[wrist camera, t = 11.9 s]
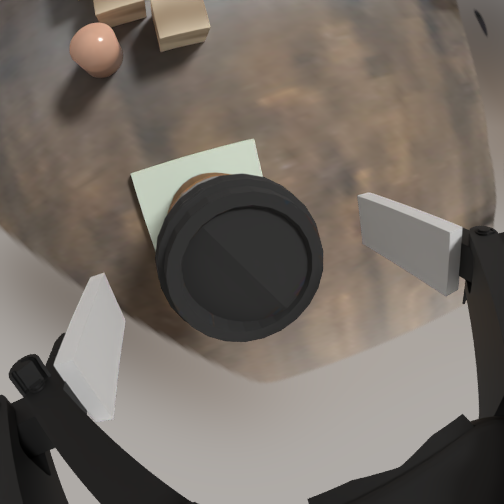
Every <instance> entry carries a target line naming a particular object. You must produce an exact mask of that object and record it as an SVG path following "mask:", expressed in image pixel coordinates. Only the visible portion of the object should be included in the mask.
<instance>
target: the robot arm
mask: <svg viewBox="0 0 504 504" xmlns="http://www.w3.org/2000/svg"><path fill="white" fill-rule="evenodd" d="M357 197H358V205H359V214H360V223H361V233H362V244H364V245H366V246H367V247H369V248H370V249H372V250H374V251H375V252H377V253H379V254H380V255H382V256H384V257H385V258H387V259H388V260H390V261H392V262H393V263H395V264H396V265H398V266H400V267H401V268H403V269H404V270H406V271H408V272H409V273H411V274H412V275H414V276H415V277H417V278H419V279H420V280H422V281H423V282H425V283H426V284H428V285H429V286H431V287H432V288H434V289H435V290H437V291H438V292H440V293H441V294H443V295H444V296H448V295H450V294H451V293H453V292H455V291H457V290H458V285H459V276H460V277H462V278H464V279H465V280H466V281H465V289H464V297H463V304H465V301H466V300H467V303H468V309H469V314H470V320H471V327H472V333H473V340H474V348H475V357H476V365H477V378H478V392H479V419H477V420H473V421H471V422H470V421H469V420H468V419H467V418H466V417H465V416H464V415H463V414H462V415H461V416H459V417H458V418H457V419H455V420H454V421H452V422H451V423H450V424H448V425H447V426H446V427H444V428H442V429H441V430H440V431H438V432H437V433H435V434H434V435H432V436H431V437H430V438H429V439H428V440H427V441H426V442H425V443H424V444H423V446H421V447H420V448H419V449H418V450H417V451H416V452H415V454H414V455H413V456H411V458H409V459H408V460H407V461H406V462H405V463H404V464H403V465H402V466H400V467H398V468H396V469H393V470H389V471H386V472H383V473H379V474H375V475H372V476H368V477H364V478H360V479H356V480H352V481H349V482H347V483H345V484H343V485H341V486H338V487H336V488H334V489H331V490H329V491H327V492H324V493H322V494H319V495H317V496H314V497H312V498H309V499H308V502H309V504H504V232H503V233H498V232H497V231H496V230H495V229H493V228H490V227H487V226H475V227H472V228H471V229H470V230H467V229H465V228H462V227H461V226H459V225H456V224H454V223H451V222H449V221H446V220H444V219H441V218H439V217H436V216H434V215H431V214H428V213H426V212H423V211H420V210H418V209H415V208H412V207H410V206H407V205H404V204H401V203H399V202H396V201H393V200H390V199H387V198H384V197H382V196H379V195H376V194H373V193H370V192H368V193H365V194H361V195H357ZM125 323H126V320H125V318H124V316H123V313H122V311H121V309H120V307H119V305H118V303H117V301H116V298H115V296H114V294H113V292H112V289H111V287H110V285H109V283H108V280H107V278H106V276H105V273H102V274H99V275H96V276H93V277H90V279H89V281H88V284H87V286H86V288H85V290H84V292H83V294H82V297H81V299H80V301H79V303H78V306H77V308H76V310H75V312H74V315H73V317H72V319H71V322H70V324H69V327H68V329H67V332H66V333H63V334H62V335H61V336H60V337H59V338H58V339H57V340H56V342H55V343H54V346H53V348H52V351H51V353H50V356H49V357H50V358H48V361H47V363H46V366H45V365H44V364H43V362H42V361H41V359H40V358H39V356H37V355H36V354H30V355H27V356H25V357H23V358H21V359H20V360H18V361H17V362H16V363H15V364H14V365H13V366H12V368H11V369H10V372H9V378H10V380H11V381H12V383H13V384H14V385H15V387H16V388H17V389H18V391H19V392H20V393H21V394H22V395H23V397H24V398H22V399H20V400H18V401H16V402H13V403H10V402H9V401H8V400H7V398H6V397H5V396H3V395H0V504H68V501H67V499H66V496H65V493H64V491H63V489H62V486H61V483H60V480H59V477H58V474H57V472H56V469H55V466H54V462H53V459H52V456H51V453H50V450H51V449H53V448H56V449H57V450H58V452H59V453H60V454H61V456H62V457H63V459H64V460H65V461H66V463H67V464H68V465H69V466H70V468H71V469H72V470H73V472H74V473H75V474H76V475H77V477H78V478H79V479H80V480H81V481H82V483H83V484H84V485H85V486H86V487H87V489H88V490H89V491H90V492H91V493H92V494H93V496H94V497H95V498H96V499H97V500H98V501H99V502H100V503H101V504H197V503H196V502H191V501H189V500H187V499H186V498H185V497H183V496H182V495H180V494H179V493H177V492H176V491H175V490H173V489H172V488H171V487H169V486H168V485H167V484H165V483H164V482H162V481H161V480H160V479H159V478H157V477H156V476H155V475H153V474H152V473H151V472H149V471H148V470H147V469H146V468H145V467H143V466H142V465H141V464H140V463H138V462H137V461H136V460H135V459H134V458H133V457H131V456H130V455H129V454H128V453H127V452H126V451H124V450H123V449H122V448H121V447H120V446H119V445H118V444H117V443H115V442H114V441H113V440H112V439H111V438H110V437H109V436H108V435H107V434H106V433H105V432H104V431H103V430H101V428H100V427H99V426H97V425H96V424H95V423H94V422H93V421H92V420H91V419H90V418H89V417H88V416H87V412H88V414H89V415H90V416H91V417H92V419H93V420H94V421H95V422H101V421H106V420H112V419H114V412H115V400H116V390H117V381H118V373H119V365H120V357H121V348H122V342H123V335H124V329H125Z"/></svg>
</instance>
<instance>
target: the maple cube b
mask: <svg viewBox="0 0 504 504" xmlns="http://www.w3.org/2000/svg"><path fill="white" fill-rule="evenodd" d="M93 2H94V8H95V15H96V17H97V19H98V21H99V22H100V23H104V24H106V25H108V26H110V27H111V28H112V27H115V26H118V25H121V24H124V23H128V22H131V21H134V20H138V19H142V18H145V17H146V9H145V2H144V0H93Z"/></svg>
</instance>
